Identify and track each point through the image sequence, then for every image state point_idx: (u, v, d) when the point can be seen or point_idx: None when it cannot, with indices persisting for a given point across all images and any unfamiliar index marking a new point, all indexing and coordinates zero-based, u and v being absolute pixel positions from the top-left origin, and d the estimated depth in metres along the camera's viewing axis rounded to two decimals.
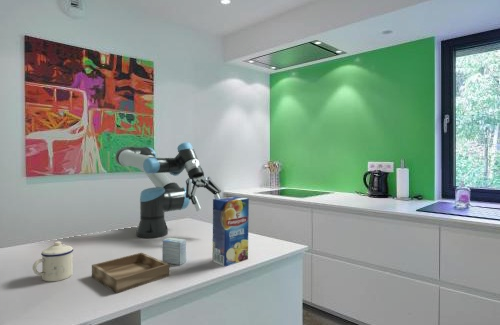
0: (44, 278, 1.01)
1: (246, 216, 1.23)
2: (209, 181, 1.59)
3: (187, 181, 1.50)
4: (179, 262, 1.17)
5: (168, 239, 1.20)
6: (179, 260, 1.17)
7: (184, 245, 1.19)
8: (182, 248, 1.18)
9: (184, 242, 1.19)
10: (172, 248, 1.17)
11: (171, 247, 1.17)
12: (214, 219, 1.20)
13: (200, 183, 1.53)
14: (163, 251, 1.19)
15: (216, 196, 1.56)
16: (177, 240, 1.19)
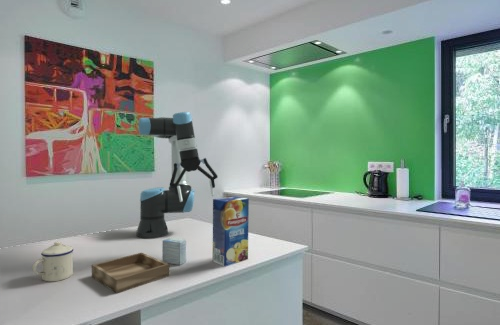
0: (44, 278, 1.01)
1: (246, 216, 1.23)
2: (205, 164, 1.33)
3: None
4: (179, 262, 1.17)
5: (168, 239, 1.20)
6: (179, 260, 1.17)
7: (184, 245, 1.19)
8: (182, 248, 1.18)
9: (184, 242, 1.19)
10: (172, 248, 1.17)
11: (171, 247, 1.17)
12: (214, 219, 1.20)
13: (189, 169, 1.32)
14: (163, 251, 1.19)
15: None
16: (177, 240, 1.19)
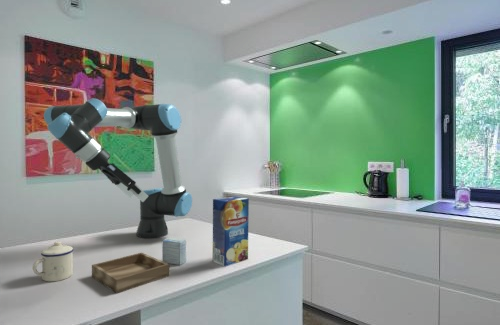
0: (44, 278, 1.01)
1: (246, 216, 1.23)
2: None
3: None
4: (179, 262, 1.17)
5: (168, 239, 1.20)
6: (179, 260, 1.17)
7: (184, 245, 1.19)
8: (182, 248, 1.18)
9: (184, 242, 1.19)
10: (171, 248, 1.17)
11: (171, 247, 1.17)
12: (214, 219, 1.20)
13: None
14: (163, 251, 1.19)
15: None
16: (177, 240, 1.19)
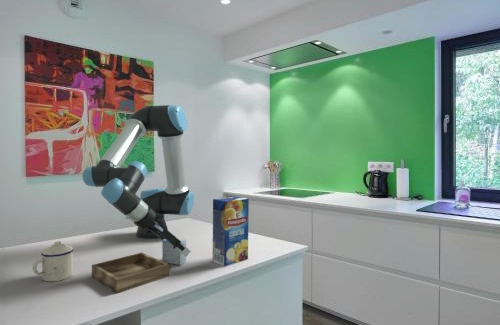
0: (44, 278, 1.01)
1: (246, 216, 1.23)
2: None
3: None
4: (179, 262, 1.17)
5: None
6: (179, 260, 1.17)
7: (184, 245, 1.19)
8: None
9: (184, 242, 1.19)
10: (171, 248, 1.17)
11: (171, 247, 1.18)
12: (214, 219, 1.20)
13: None
14: (163, 251, 1.19)
15: None
16: None
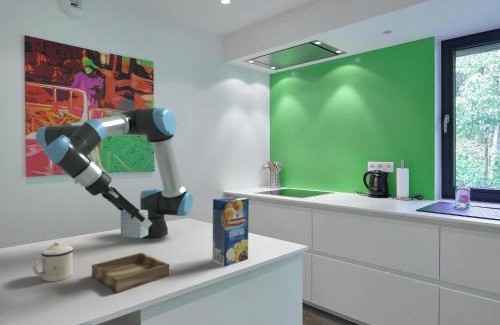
0: (44, 278, 1.01)
1: (246, 216, 1.23)
2: None
3: None
4: (139, 235, 1.03)
5: None
6: (139, 233, 1.03)
7: (145, 216, 1.05)
8: None
9: (145, 213, 1.05)
10: (131, 220, 1.04)
11: (130, 218, 1.04)
12: (214, 219, 1.20)
13: None
14: (121, 223, 1.05)
15: None
16: None
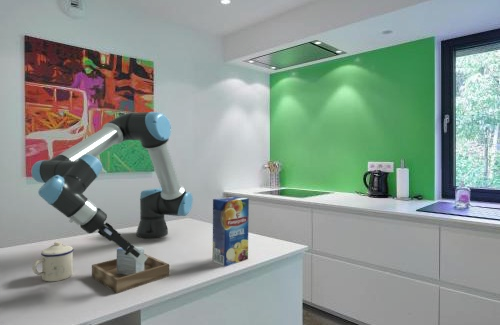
0: (44, 278, 1.01)
1: (246, 216, 1.23)
2: None
3: None
4: None
5: None
6: (135, 271, 1.02)
7: None
8: None
9: (141, 251, 1.05)
10: (126, 258, 1.03)
11: (126, 257, 1.03)
12: (214, 219, 1.20)
13: None
14: (117, 261, 1.05)
15: None
16: None
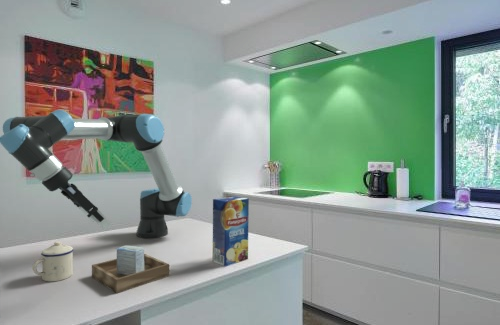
0: (44, 278, 1.01)
1: (246, 216, 1.23)
2: (73, 195, 0.90)
3: None
4: None
5: (124, 247, 1.06)
6: (135, 271, 1.02)
7: (141, 254, 1.05)
8: (138, 257, 1.03)
9: (141, 251, 1.05)
10: (126, 258, 1.03)
11: (126, 257, 1.03)
12: (214, 219, 1.20)
13: None
14: (117, 261, 1.05)
15: None
16: (133, 248, 1.05)
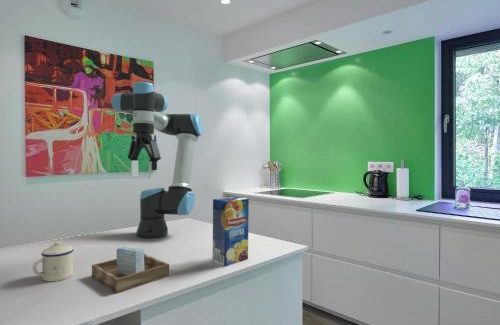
0: (44, 278, 1.01)
1: (246, 216, 1.23)
2: None
3: None
4: None
5: (124, 247, 1.06)
6: (135, 271, 1.02)
7: (141, 254, 1.05)
8: (138, 257, 1.03)
9: (141, 251, 1.05)
10: (126, 258, 1.03)
11: (126, 257, 1.03)
12: (214, 219, 1.20)
13: (140, 144, 1.22)
14: (117, 261, 1.05)
15: None
16: (133, 248, 1.05)
